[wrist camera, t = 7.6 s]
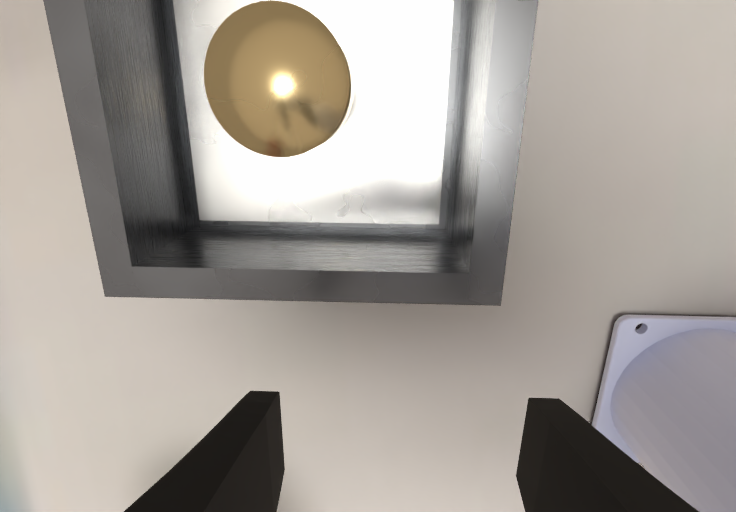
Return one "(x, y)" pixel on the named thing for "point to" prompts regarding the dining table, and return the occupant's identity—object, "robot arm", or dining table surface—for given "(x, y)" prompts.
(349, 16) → the plunger
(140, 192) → the press housing
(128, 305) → the dining table surface
